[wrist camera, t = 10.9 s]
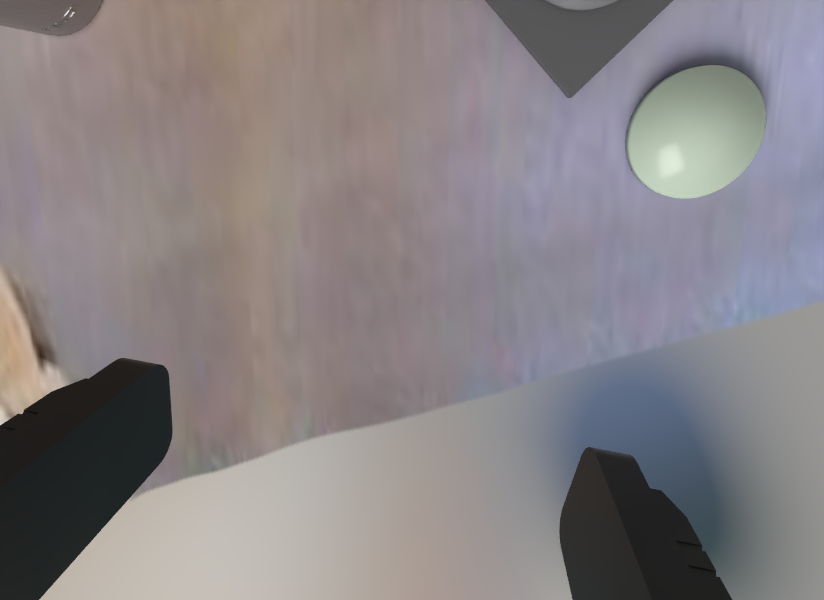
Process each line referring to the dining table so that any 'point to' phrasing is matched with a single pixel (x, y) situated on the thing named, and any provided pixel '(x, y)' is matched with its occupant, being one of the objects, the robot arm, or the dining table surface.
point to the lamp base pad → (575, 33)
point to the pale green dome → (695, 131)
